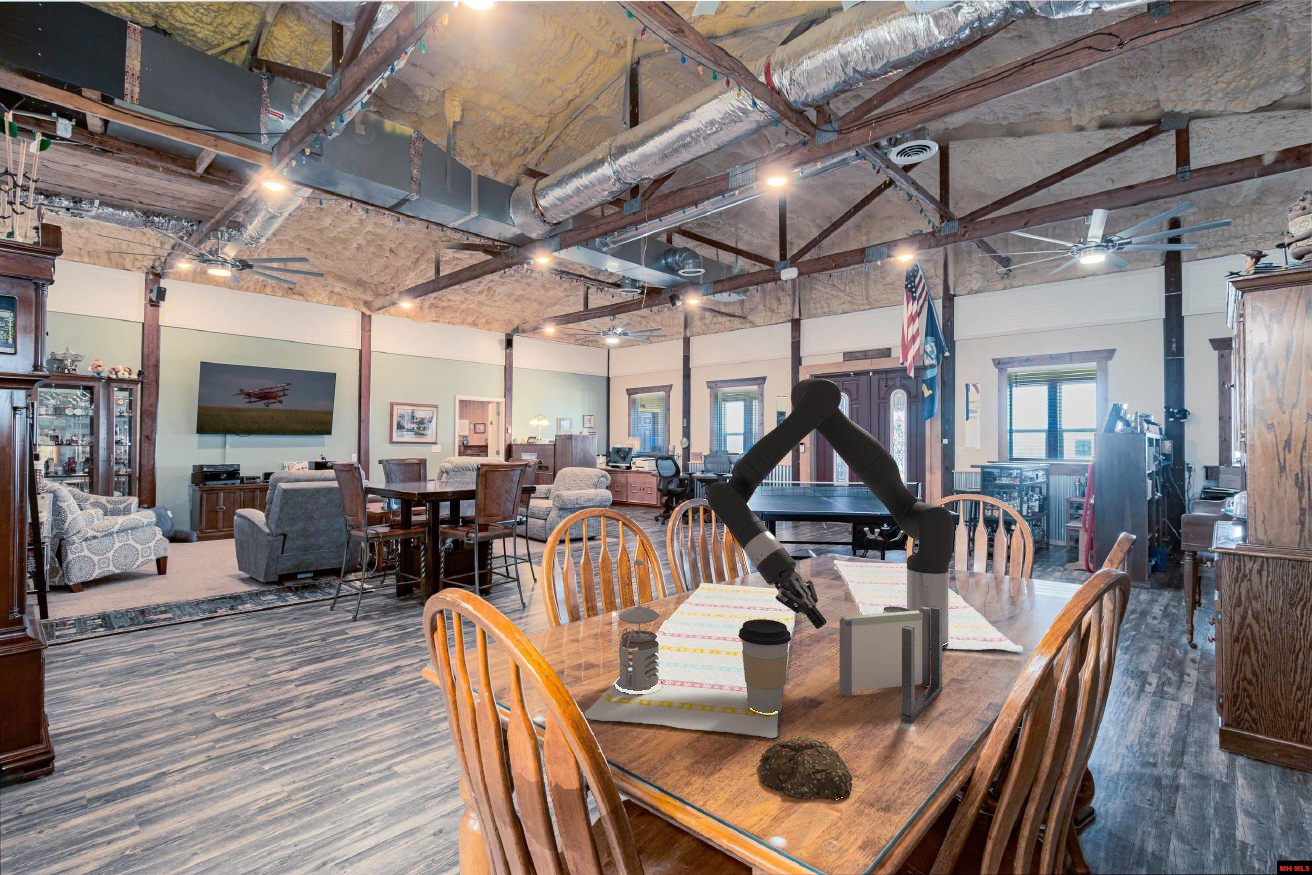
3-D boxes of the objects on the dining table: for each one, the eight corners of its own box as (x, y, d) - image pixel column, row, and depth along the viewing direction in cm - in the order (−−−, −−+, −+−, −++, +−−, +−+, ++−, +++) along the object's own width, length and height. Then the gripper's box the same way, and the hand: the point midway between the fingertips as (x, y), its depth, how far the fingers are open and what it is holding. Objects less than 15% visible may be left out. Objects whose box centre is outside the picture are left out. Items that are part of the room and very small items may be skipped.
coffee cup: (793, 701, 112) (794, 620, 112) (787, 723, 103) (788, 636, 103) (743, 694, 115) (743, 615, 115) (733, 715, 106) (733, 630, 106)
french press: (671, 680, 122) (671, 556, 122) (646, 702, 111) (646, 567, 111) (628, 671, 126) (628, 552, 126) (600, 693, 115) (600, 562, 115)
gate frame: (933, 686, 119) (934, 605, 119) (942, 688, 118) (942, 607, 118) (901, 720, 104) (901, 628, 104) (910, 723, 103) (910, 630, 103)
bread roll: (832, 754, 94) (832, 722, 94) (862, 802, 81) (862, 765, 81) (750, 755, 93) (751, 723, 93) (768, 803, 81) (768, 766, 81)
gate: (925, 681, 120) (925, 606, 120) (932, 685, 118) (932, 609, 118) (838, 691, 115) (839, 613, 115) (844, 695, 113) (844, 616, 113)
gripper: (764, 550, 123) (820, 622, 115) (795, 542, 133) (848, 608, 125) (742, 572, 127) (794, 644, 118) (774, 563, 137) (824, 628, 128)
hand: (822, 625), depth 122 cm, fingers closed
